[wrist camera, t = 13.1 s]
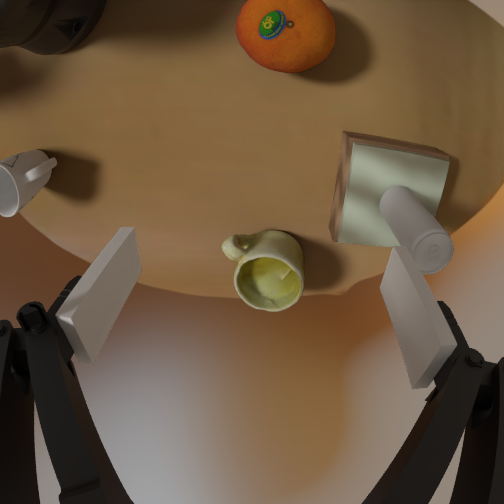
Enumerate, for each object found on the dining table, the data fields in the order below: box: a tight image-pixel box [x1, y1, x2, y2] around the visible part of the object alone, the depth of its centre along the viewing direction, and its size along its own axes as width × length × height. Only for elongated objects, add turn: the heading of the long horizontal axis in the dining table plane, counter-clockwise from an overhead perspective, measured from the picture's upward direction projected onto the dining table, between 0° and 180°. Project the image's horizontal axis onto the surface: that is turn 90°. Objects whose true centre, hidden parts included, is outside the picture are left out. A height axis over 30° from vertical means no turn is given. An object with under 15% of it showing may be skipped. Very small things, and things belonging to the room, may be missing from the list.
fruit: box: [236, 0, 336, 73], centre depth 27 cm, size 11×10×8 cm
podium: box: [329, 131, 450, 247], centre depth 38 cm, size 14×14×5 cm
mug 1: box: [0, 150, 57, 217], centre depth 37 cm, size 11×8×10 cm
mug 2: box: [222, 230, 305, 311], centre depth 43 cm, size 12×10×10 cm
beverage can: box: [379, 186, 454, 274], centre depth 31 cm, size 5×5×12 cm
